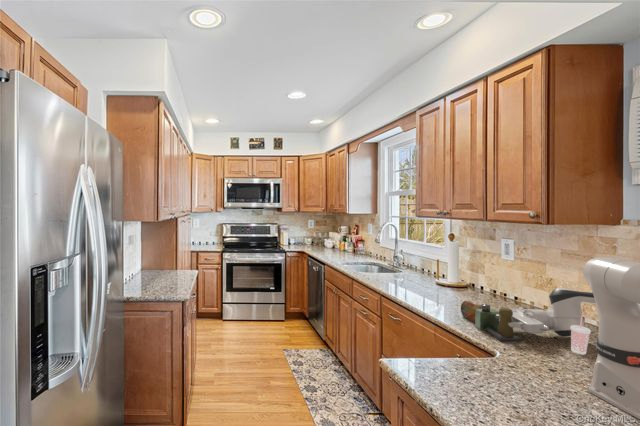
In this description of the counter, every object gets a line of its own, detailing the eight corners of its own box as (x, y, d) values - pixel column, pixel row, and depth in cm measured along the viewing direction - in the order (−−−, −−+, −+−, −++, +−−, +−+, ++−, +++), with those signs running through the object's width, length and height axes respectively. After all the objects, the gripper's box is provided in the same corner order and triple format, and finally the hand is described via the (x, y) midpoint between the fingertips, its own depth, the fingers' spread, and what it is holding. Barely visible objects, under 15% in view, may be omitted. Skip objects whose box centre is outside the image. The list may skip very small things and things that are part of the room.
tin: (460, 315, 172) (460, 298, 172) (465, 315, 173) (465, 298, 173) (481, 326, 158) (481, 307, 158) (487, 325, 159) (487, 307, 158)
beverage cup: (579, 356, 126) (582, 318, 125) (564, 348, 132) (567, 312, 131) (593, 355, 128) (596, 318, 126) (577, 347, 134) (581, 311, 132)
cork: (516, 337, 142) (516, 310, 142) (501, 337, 142) (501, 310, 142) (509, 332, 148) (510, 306, 148) (494, 331, 148) (495, 306, 148)
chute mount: (521, 341, 140) (521, 316, 139) (495, 341, 139) (496, 316, 139) (498, 326, 157) (498, 303, 157) (475, 326, 157) (475, 303, 157)
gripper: (552, 337, 136) (517, 337, 135) (520, 319, 156) (490, 320, 156) (552, 321, 135) (517, 321, 135) (520, 306, 156) (490, 306, 156)
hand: (502, 320), depth 146 cm, fingers open, 8 cm apart
